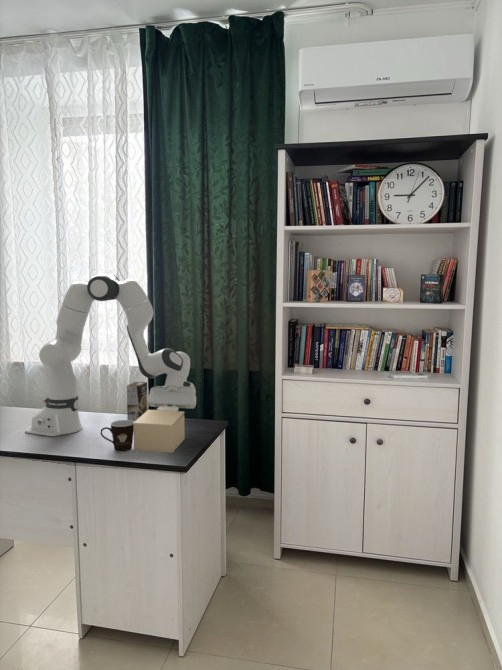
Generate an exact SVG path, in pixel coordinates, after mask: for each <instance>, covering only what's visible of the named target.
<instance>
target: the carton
mask: <svg viewBox="0 0 502 670" xmlns="http://www.w3.org/2000/svg"><path fill="white" fill-rule="evenodd" d="M185 430H186V429H185V414H183V415H182V416H181V417H180V418H179V419H178V420H177V422H176V423H175V424H174V425H173V426H155V425H136V424H133V451H137V452H138V451H141V452H155V453H174V452H175V450H176V449H177V448H178V447H179V446H180V445H181V444H182V442H184V441H185V438H186V437H185V434H186V433H185V432H186V431H185Z"/></svg>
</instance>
